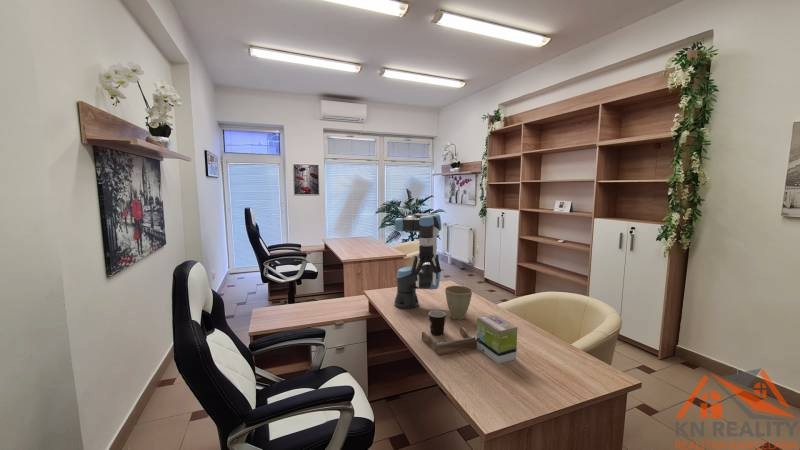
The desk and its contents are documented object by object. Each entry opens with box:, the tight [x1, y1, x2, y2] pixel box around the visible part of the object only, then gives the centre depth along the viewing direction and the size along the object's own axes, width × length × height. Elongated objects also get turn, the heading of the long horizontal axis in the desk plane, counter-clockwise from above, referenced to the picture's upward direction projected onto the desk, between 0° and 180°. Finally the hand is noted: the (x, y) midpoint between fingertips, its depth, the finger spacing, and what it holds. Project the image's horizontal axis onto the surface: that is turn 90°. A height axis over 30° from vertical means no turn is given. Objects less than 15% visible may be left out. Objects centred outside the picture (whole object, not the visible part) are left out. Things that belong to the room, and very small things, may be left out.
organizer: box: [421, 325, 478, 356], centre depth 147 cm, size 16×22×5 cm
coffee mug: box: [428, 309, 447, 337], centre depth 160 cm, size 12×9×10 cm
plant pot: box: [444, 285, 473, 320], centre depth 178 cm, size 15×15×16 cm
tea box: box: [476, 314, 518, 365], centre depth 138 cm, size 15×10×15 cm
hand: (426, 285), depth 172 cm, fingers open, 9 cm apart
